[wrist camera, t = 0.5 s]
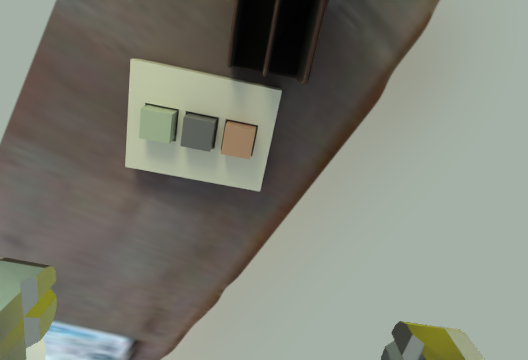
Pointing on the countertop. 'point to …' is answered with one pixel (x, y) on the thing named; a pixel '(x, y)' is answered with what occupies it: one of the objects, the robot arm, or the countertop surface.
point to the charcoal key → (198, 132)
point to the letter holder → (276, 36)
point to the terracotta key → (238, 140)
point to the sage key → (157, 124)
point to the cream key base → (206, 104)
